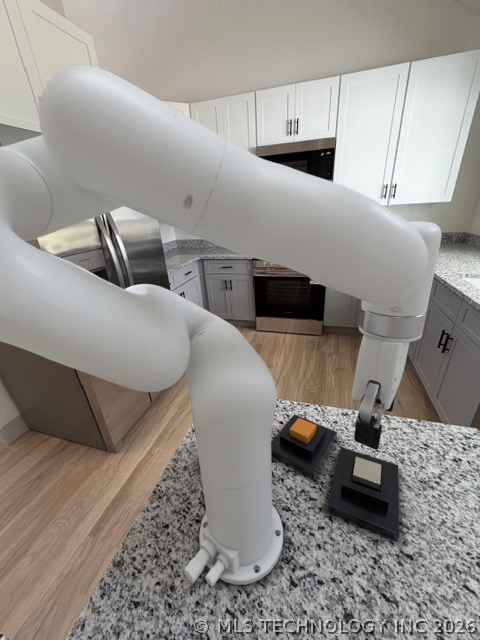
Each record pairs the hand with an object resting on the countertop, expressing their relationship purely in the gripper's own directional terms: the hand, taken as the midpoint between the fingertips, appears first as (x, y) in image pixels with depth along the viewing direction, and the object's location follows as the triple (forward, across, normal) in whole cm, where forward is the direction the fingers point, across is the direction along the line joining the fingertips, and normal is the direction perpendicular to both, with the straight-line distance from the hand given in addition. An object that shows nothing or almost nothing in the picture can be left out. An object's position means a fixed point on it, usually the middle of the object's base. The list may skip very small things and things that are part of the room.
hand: (374, 424), depth 42 cm
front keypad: (+14, 0, 0) cm, 14 cm away
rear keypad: (+14, -3, -13) cm, 19 cm away
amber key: (+11, -3, -13) cm, 17 cm away
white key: (+11, 0, 0) cm, 11 cm away
